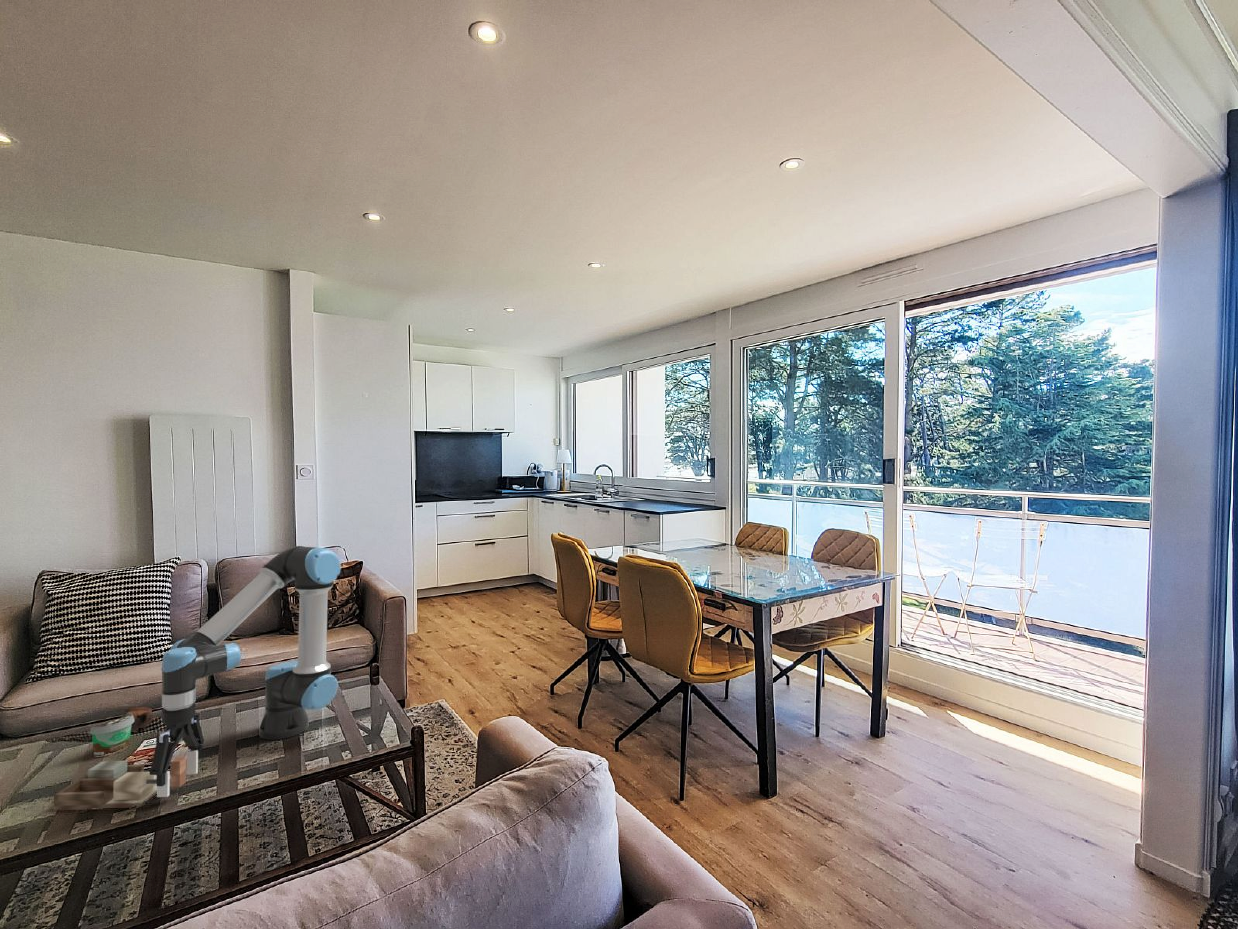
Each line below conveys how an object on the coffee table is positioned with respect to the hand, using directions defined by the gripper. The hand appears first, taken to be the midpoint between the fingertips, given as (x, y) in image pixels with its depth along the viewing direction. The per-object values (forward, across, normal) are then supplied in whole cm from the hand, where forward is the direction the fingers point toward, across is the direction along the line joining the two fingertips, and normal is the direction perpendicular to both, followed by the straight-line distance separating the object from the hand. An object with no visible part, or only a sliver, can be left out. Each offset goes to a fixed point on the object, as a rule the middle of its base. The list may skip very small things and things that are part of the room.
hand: (178, 784), depth 163 cm
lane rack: (+4, -4, -18) cm, 19 cm away
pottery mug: (+4, -46, -44) cm, 64 cm away
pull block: (+2, 0, -7) cm, 7 cm away
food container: (+4, -29, -38) cm, 48 cm away
